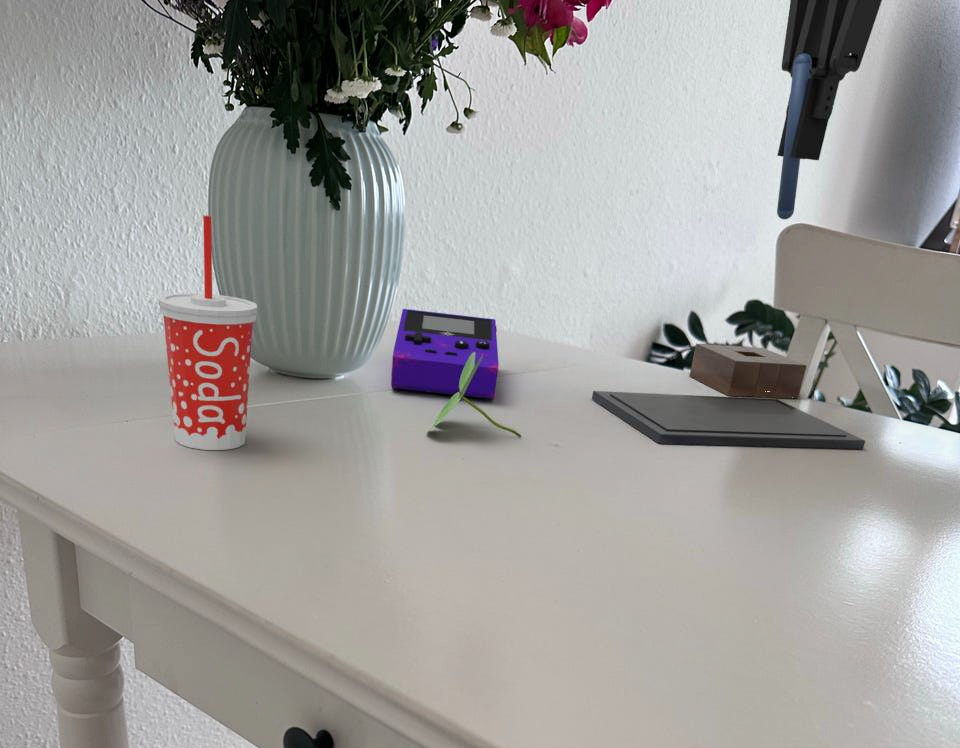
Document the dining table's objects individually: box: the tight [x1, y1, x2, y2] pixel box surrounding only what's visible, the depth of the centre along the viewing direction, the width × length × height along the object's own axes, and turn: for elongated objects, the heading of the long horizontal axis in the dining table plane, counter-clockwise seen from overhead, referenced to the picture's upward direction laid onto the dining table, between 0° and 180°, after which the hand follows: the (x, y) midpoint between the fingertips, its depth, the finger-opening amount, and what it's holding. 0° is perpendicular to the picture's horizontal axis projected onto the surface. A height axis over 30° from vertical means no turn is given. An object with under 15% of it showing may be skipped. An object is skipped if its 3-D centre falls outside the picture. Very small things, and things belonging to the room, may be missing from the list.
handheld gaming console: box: [390, 308, 499, 400], centre depth 89 cm, size 9×5×15 cm
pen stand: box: [688, 343, 808, 399], centre depth 102 cm, size 8×8×4 cm
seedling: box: [428, 352, 522, 439], centre depth 74 cm, size 7×8×7 cm
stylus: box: [776, 53, 812, 220], centre depth 91 cm, size 2×2×14 cm
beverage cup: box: [157, 214, 258, 451], centre depth 62 cm, size 6×6×14 cm
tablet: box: [591, 390, 866, 450], centre depth 86 cm, size 20×14×1 cm
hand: (797, 157), depth 92 cm, fingers closed on stylus, 1 cm apart
